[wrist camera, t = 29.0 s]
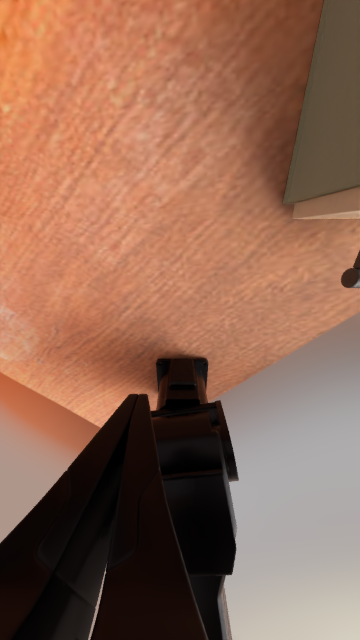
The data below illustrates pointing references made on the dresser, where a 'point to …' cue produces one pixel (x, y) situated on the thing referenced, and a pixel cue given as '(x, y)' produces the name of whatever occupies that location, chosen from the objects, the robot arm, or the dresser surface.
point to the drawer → (334, 206)
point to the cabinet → (330, 109)
